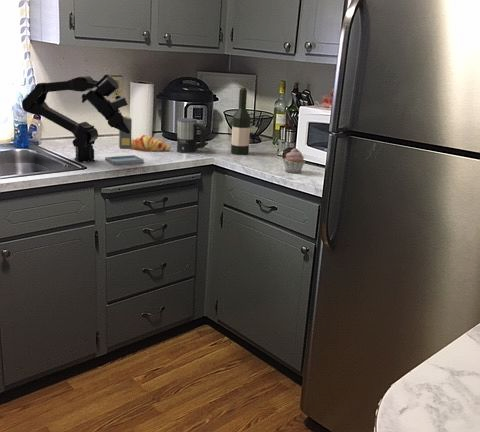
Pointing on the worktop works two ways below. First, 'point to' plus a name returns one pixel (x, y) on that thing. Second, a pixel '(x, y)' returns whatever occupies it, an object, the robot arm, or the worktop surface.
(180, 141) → the milk frother
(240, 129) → the wine bottle
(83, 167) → the worktop surface
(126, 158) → the tray
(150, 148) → the croissant
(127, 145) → the caddy
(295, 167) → the cupcake
